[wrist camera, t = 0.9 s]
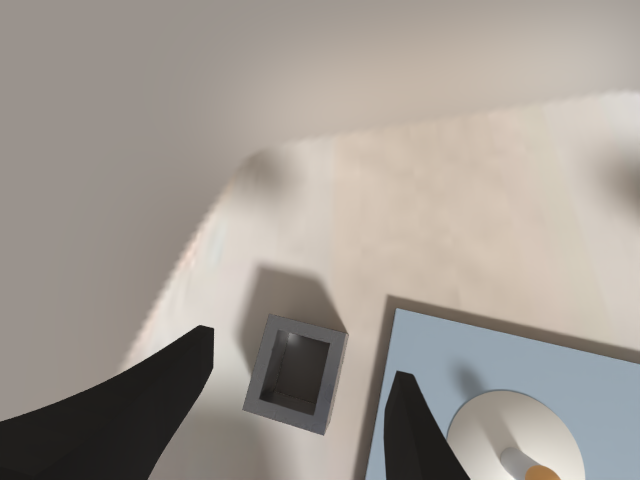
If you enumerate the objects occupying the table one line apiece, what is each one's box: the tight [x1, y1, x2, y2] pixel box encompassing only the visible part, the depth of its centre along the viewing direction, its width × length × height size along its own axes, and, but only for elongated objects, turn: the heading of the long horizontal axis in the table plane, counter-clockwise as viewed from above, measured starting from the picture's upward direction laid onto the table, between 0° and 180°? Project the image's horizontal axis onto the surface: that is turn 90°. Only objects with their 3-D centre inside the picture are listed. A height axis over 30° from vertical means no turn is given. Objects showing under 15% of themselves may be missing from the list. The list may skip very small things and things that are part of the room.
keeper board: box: [365, 308, 640, 480], centre depth 20 cm, size 16×18×6 cm
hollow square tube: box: [242, 314, 349, 436], centre depth 24 cm, size 6×6×4 cm
